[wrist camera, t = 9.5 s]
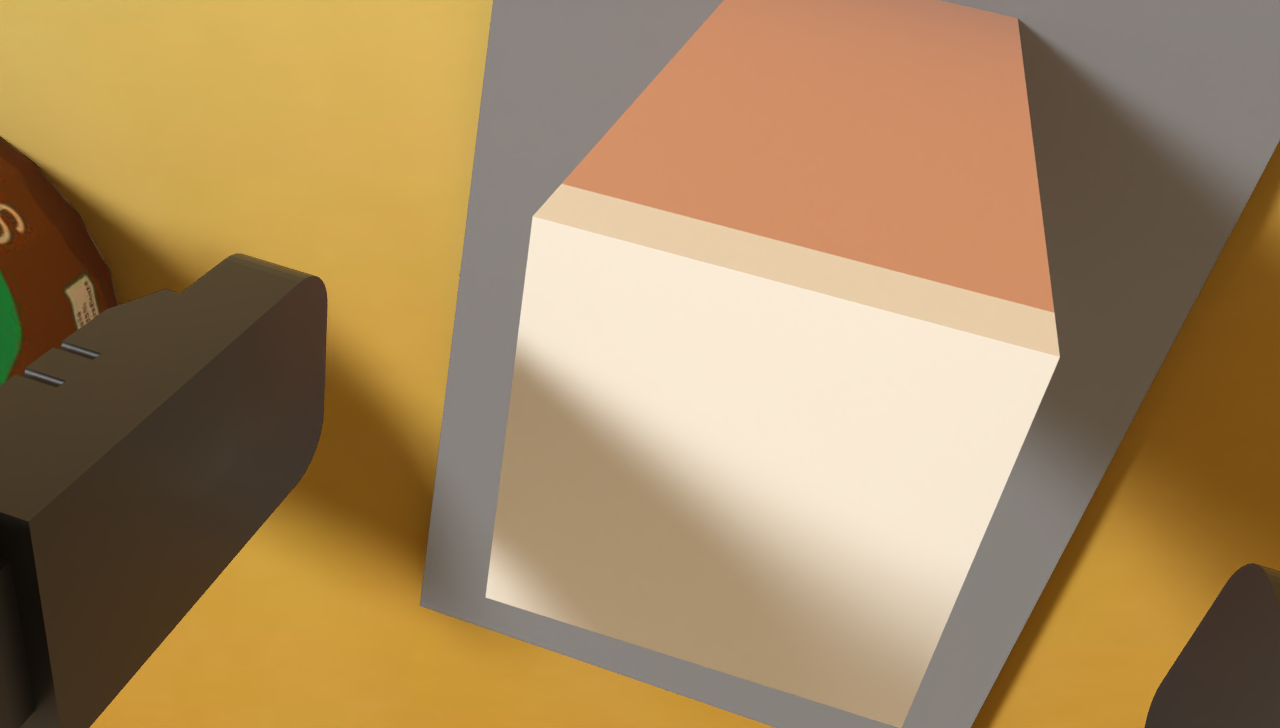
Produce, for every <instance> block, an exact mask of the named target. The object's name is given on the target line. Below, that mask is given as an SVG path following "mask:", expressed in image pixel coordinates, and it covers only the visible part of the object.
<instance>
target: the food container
mask: <svg viewBox="0 0 1280 728" xmlns="http://www.w3.org/2000/svg"><path fill="white" fill-rule="evenodd" d="M118 305H119V304H118V300H117V296H116V292H115V288H114V284H113V280H112V276H111V273H110V270H109V268H108V266H107V264H106V263H105V261H104V259H103V257H102V255H101V253H100V252H99V250H98V248H97V246H96V244H95V242H94V240H93V239H92V237H91V235H90V233H89V231H88V229H87V228H86V226H85V224H84V222H83V220H82V218H81V216H80V215H79V213H78V212H77V211H76V210H75V209H74V208H73V207H72V205H71V204H70V203H69V202H68V201H67V200H66V198H65V197H64V196H63V195H62V194H61V193H60V192H59V190H58V189H57V188H56V187H55V186H54V185H53V184H52V182H51V181H50V180H49V179H48V178H47V177H46V175H45V174H44V173H43V172H42V171H41V170H40V169H39V167H38V166H37V165H36V164H35V163H34V162H32V161H31V160H30V159H29V158H27V157H26V156H25V155H23V154H22V153H21V152H19V151H18V150H17V149H15V148H14V147H13V146H12V145H10V144H9V143H8V142H6V141H5V140H4V139H2V138H1V137H0V385H2V384H3V383H5V382H6V381H7V380H9V379H10V378H12V377H13V376H14V375H19V376H23V374H24V373H25V369H26V367H27V366H28V365H30V364H31V363H33V362H34V361H35V360H37V359H38V358H39V357H41V356H42V355H44V354H45V353H46V352H48V351H49V350H51V349H52V348H53V347H54V348H57V349H60V348H61V346H62V341H63V340H65V339H66V338H67V337H69V336H70V335H71V334H73V333H74V332H76V331H77V330H78V329H80V328H81V327H83V326H84V325H85V324H87V323H88V322H90V321H91V320H92V319H94V318H95V317H97V316H98V315H99V314H101V313H102V312H103V311H105V310H106V309H109V308H112V307H115V306H118Z"/></svg>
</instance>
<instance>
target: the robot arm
mask: <svg viewBox="0 0 1280 728" xmlns="http://www.w3.org/2000/svg"><path fill="white" fill-rule="evenodd" d="M326 331H327V292H326V288H325V285H324V283H323V281H322V280H321V279H320V278H319V277H317V276H314V275H310V274H307V273H304V272H300V271H297V270H294V269H290V268H287V267H284V266H281V265H277V264H274V263H271V262H267V261H264V260H261V259H257V258H254V257H251V256H248V255H244V254H234V255H231V256H229V257H228V258H226V259H225V260H223V261H222V262H221V263H219V264H218V265H217V266H215V267H214V268H213V269H211V270H210V271H209V272H208V273H206V274H205V275H204V276H202V277H201V278H200V279H198V280H197V281H196V282H194V283H193V284H192V285H191V286H189V287H188V288H187V289H185V290H184V291H183V292H181V293H177V292H174V291H171V290H167V289H164V290H161V291H158V292H155V293H152V294H149V295H146V296H144V297H141V298H138V299H135V300H132V301H129V302H126V303H123V304H121V305H118V306H115V307H112V308H109V309H106V310H105V311H103V312H102V313H101V314H99V315H98V316H97V317H95V318H94V319H92V320H91V321H90V322H88V323H87V324H85V325H84V326H83V327H81V328H80V329H78V330H77V331H76V332H74V333H73V334H71V335H70V336H69V337H67V338H66V339H65V340H63V341H62V346H61V348H60V349H57V348H54V347H53V348H52V349H51V350H49V351H48V352H46V353H45V354H44V355H42V356H41V357H39V358H38V359H37V360H35V361H34V362H33V363H31V364H30V365H28V366H27V367H26V369H25V373H24V374H23V376H19V375H14V376H13V377H12V378H10V379H9V380H7V381H6V382H5V383H3V384H2V385H0V728H89V727H90V726H91V725H92V724H93V723H94V722H95V720H96V719H97V718H98V717H99V716H100V714H101V713H102V712H103V711H104V710H105V709H106V707H107V706H108V705H109V704H110V703H111V702H112V700H113V699H114V698H115V697H116V696H117V695H118V693H119V692H120V691H121V690H122V689H123V687H124V686H125V685H126V684H127V683H128V682H129V680H130V679H131V678H132V677H133V676H134V675H135V673H136V672H137V671H138V670H139V669H140V668H141V666H142V665H143V664H144V663H145V662H146V661H147V659H148V658H149V657H150V656H151V655H152V653H153V652H154V651H155V650H156V649H157V648H158V646H159V645H160V644H161V643H162V642H163V641H164V639H165V638H166V637H167V636H168V635H169V634H170V632H171V631H172V630H173V629H174V628H175V627H176V625H177V624H178V623H179V622H180V621H181V619H182V618H183V617H184V616H185V615H186V614H187V612H188V611H189V610H190V609H191V608H192V607H193V605H194V604H195V603H196V602H197V601H198V600H199V598H200V597H201V596H202V595H203V594H204V592H205V591H206V590H207V589H208V588H209V587H210V585H211V584H212V583H213V582H214V581H215V580H216V578H217V577H218V576H219V575H220V574H221V573H222V571H223V570H224V569H225V568H226V567H227V566H228V564H229V563H230V562H231V561H232V560H233V558H234V557H235V556H236V555H237V554H238V553H239V551H240V550H241V549H242V548H243V547H244V546H245V544H246V543H247V542H248V541H249V540H250V539H251V537H252V536H253V535H254V534H255V533H256V531H257V530H258V529H259V528H260V527H261V526H262V524H263V523H264V522H265V521H266V520H267V519H268V517H269V516H270V515H271V514H272V513H273V512H274V510H275V509H276V508H277V507H278V506H279V505H280V503H281V502H282V501H283V500H284V499H285V497H286V496H287V495H288V494H289V493H290V492H291V490H292V489H293V488H294V487H295V486H296V485H297V483H298V482H299V481H300V479H301V478H302V476H303V475H304V473H305V471H306V470H307V468H308V466H309V464H310V462H311V460H312V457H313V455H314V453H315V450H316V447H317V444H318V441H319V438H320V434H321V429H322V423H323V414H324V386H325V358H326ZM1145 728H1280V571H1277V570H1274V569H1270V568H1267V567H1264V566H1261V565H1257V564H1247V565H1245V566H1243V567H1241V568H1240V569H1238V570H1237V571H1236V572H1235V573H1234V574H1233V575H1232V576H1231V578H1230V579H1229V580H1228V582H1227V583H1226V585H1225V586H1224V588H1223V589H1222V591H1221V592H1220V594H1219V595H1218V597H1217V598H1216V600H1215V601H1214V603H1213V604H1212V606H1211V607H1210V609H1209V611H1208V612H1207V614H1206V615H1205V617H1204V618H1203V620H1202V621H1201V623H1200V624H1199V626H1198V627H1197V629H1196V630H1195V632H1194V634H1193V635H1192V637H1191V638H1190V640H1189V641H1188V643H1187V644H1186V646H1185V647H1184V649H1183V650H1182V652H1181V653H1180V655H1179V656H1178V658H1177V660H1176V661H1175V663H1174V664H1173V666H1172V667H1171V669H1170V670H1169V672H1168V673H1167V675H1166V676H1165V678H1164V679H1163V681H1162V683H1161V684H1160V686H1159V688H1158V689H1157V691H1156V693H1155V696H1154V698H1153V700H1152V703H1151V706H1150V709H1149V712H1148V716H1147V720H1146V724H1145Z"/></svg>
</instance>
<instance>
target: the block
mask: <svg viewBox="0 0 1280 728" xmlns="http://www.w3.org/2000/svg"><path fill="white" fill-rule="evenodd" d="M1059 358H1060V353H1059V345H1058V337H1057V329H1056V321H1055V313H1054V305H1053V297H1052V289H1051V281H1050V273H1049V265H1048V257H1047V249H1046V241H1045V233H1044V225H1043V217H1042V209H1041V201H1040V193H1039V185H1038V177H1037V169H1036V161H1035V153H1034V145H1033V137H1032V129H1031V121H1030V113H1029V105H1028V97H1027V89H1026V81H1025V73H1024V65H1023V57H1022V49H1021V41H1020V33H1019V25H1018V18H1015V17H1011V16H1006V15H1002V14H997V13H993V12H989V11H984V10H980V9H976V8H971V7H967V6H962V5H958V4H954V3H949V2H945V1H941V0H724V1H723V2H722V3H721V4H720V5H719V6H718V7H717V8H716V10H715V11H714V12H713V13H712V14H711V15H710V16H709V17H708V19H707V20H706V21H705V22H704V23H703V24H702V25H701V27H700V28H699V29H698V30H697V31H696V32H695V33H694V34H693V36H692V37H691V38H690V39H689V40H688V41H687V42H686V44H685V45H684V46H683V47H682V48H681V49H680V50H679V51H678V53H677V54H676V55H675V56H674V57H673V58H672V59H671V60H670V62H669V63H668V64H667V65H666V66H665V67H664V68H663V70H662V71H661V72H660V73H659V74H658V75H657V76H656V77H655V79H654V80H653V81H652V82H651V83H650V84H649V85H648V86H647V88H646V89H645V90H644V91H643V92H642V93H641V94H640V96H639V97H638V98H637V99H636V100H635V101H634V102H633V103H632V105H631V106H630V107H629V108H628V109H627V110H626V111H625V112H624V114H623V115H622V116H621V117H620V118H619V119H618V120H617V122H616V123H615V124H614V125H613V126H612V127H611V128H610V129H609V131H608V132H607V133H606V134H605V135H604V136H603V137H602V138H601V140H600V141H599V142H598V143H597V144H596V145H595V146H594V148H593V149H592V150H591V151H590V152H589V153H588V154H587V155H586V157H585V158H584V159H583V160H582V161H581V162H580V163H579V165H578V166H577V167H576V168H575V169H574V170H573V171H572V172H571V174H570V175H569V176H568V177H567V178H566V179H565V180H564V181H563V183H562V184H561V185H560V186H559V187H558V188H557V189H556V191H555V192H554V193H553V194H552V195H551V196H550V197H549V198H548V200H547V201H546V202H545V203H544V204H543V205H542V206H541V207H540V209H539V210H538V211H537V212H536V213H535V214H534V215H533V217H532V225H531V234H530V242H529V250H528V258H527V266H526V274H525V282H524V290H523V298H522V306H521V314H520V322H519V330H518V338H517V347H516V355H515V363H514V371H513V379H512V387H511V395H510V403H509V411H508V419H507V427H506V435H505V443H504V452H503V460H502V468H501V476H500V484H499V492H498V500H497V508H496V516H495V524H494V532H493V540H492V548H491V557H490V565H489V573H488V581H487V589H486V597H485V598H489V599H492V600H495V601H498V602H501V603H504V604H508V605H511V606H514V607H517V608H520V609H523V610H527V611H530V612H533V613H536V614H539V615H542V616H546V617H549V618H552V619H555V620H558V621H561V622H565V623H568V624H571V625H574V626H577V627H580V628H584V629H587V630H590V631H593V632H596V633H600V634H603V635H606V636H609V637H612V638H615V639H619V640H622V641H625V642H628V643H631V644H634V645H638V646H641V647H644V648H647V649H650V650H653V651H657V652H660V653H663V654H666V655H669V656H672V657H676V658H679V659H682V660H685V661H688V662H692V663H695V664H698V665H701V666H704V667H707V668H711V669H714V670H717V671H720V672H723V673H726V674H730V675H733V676H736V677H739V678H742V679H745V680H749V681H752V682H755V683H758V684H761V685H764V686H768V687H771V688H774V689H777V690H780V691H783V692H787V693H790V694H793V695H796V696H799V697H803V698H806V699H809V700H812V701H815V702H818V703H822V704H825V705H828V706H831V707H834V708H837V709H841V710H844V711H847V712H850V713H853V714H856V715H860V716H863V717H866V718H869V719H872V720H875V721H879V722H882V723H885V724H888V725H891V726H894V727H898V728H902V726H903V723H904V721H905V719H906V716H907V714H908V712H909V709H910V707H911V705H912V702H913V700H914V698H915V695H916V693H917V691H918V688H919V686H920V684H921V681H922V679H923V677H924V674H925V672H926V670H927V667H928V665H929V663H930V660H931V658H932V656H933V653H934V651H935V649H936V646H937V644H938V642H939V639H940V637H941V634H942V632H943V630H944V627H945V625H946V623H947V620H948V618H949V616H950V613H951V611H952V609H953V606H954V604H955V602H956V599H957V597H958V595H959V592H960V590H961V588H962V585H963V583H964V581H965V578H966V576H967V574H968V571H969V569H970V567H971V564H972V562H973V560H974V557H975V555H976V553H977V550H978V548H979V545H980V543H981V541H982V538H983V536H984V534H985V531H986V529H987V527H988V524H989V522H990V520H991V517H992V515H993V513H994V510H995V508H996V506H997V503H998V501H999V499H1000V496H1001V494H1002V492H1003V489H1004V487H1005V485H1006V482H1007V480H1008V478H1009V475H1010V473H1011V471H1012V468H1013V466H1014V464H1015V461H1016V459H1017V456H1018V454H1019V452H1020V449H1021V447H1022V445H1023V442H1024V440H1025V438H1026V435H1027V433H1028V431H1029V428H1030V426H1031V424H1032V421H1033V419H1034V417H1035V414H1036V412H1037V410H1038V407H1039V405H1040V403H1041V400H1042V398H1043V396H1044V393H1045V391H1046V389H1047V386H1048V384H1049V382H1050V379H1051V377H1052V375H1053V372H1054V370H1055V367H1056V365H1057V363H1058V360H1059Z"/></svg>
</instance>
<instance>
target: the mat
mask: <svg viewBox="0 0 1280 728" xmlns="http://www.w3.org/2000/svg"><path fill="white" fill-rule="evenodd" d="M723 1H724V0H493V6H492V15H491V23H490V31H489V39H488V48H487V56H486V64H485V72H484V81H483V89H482V97H481V105H480V114H479V122H478V130H477V138H476V147H475V155H474V163H473V171H472V180H471V188H470V196H469V204H468V213H467V221H466V229H465V237H464V246H463V254H462V262H461V270H460V279H459V287H458V295H457V303H456V312H455V320H454V328H453V336H452V345H451V353H450V361H449V369H448V378H447V386H446V394H445V402H444V411H443V419H442V427H441V435H440V444H439V452H438V460H437V468H436V477H435V485H434V493H433V501H432V510H431V518H430V526H429V534H428V543H427V551H426V559H425V567H424V576H423V584H422V592H421V600H420V606H422V607H425V608H428V609H431V610H434V611H437V612H440V613H443V614H445V615H448V616H451V617H454V618H457V619H460V620H463V621H466V622H469V623H472V624H475V625H478V626H481V627H483V628H486V629H489V630H492V631H495V632H498V633H501V634H504V635H507V636H510V637H513V638H516V639H519V640H521V641H524V642H527V643H530V644H533V645H536V646H539V647H542V648H545V649H548V650H551V651H554V652H557V653H559V654H562V655H565V656H568V657H571V658H574V659H577V660H580V661H583V662H586V663H589V664H592V665H595V666H597V667H600V668H603V669H606V670H609V671H612V672H615V673H618V674H621V675H624V676H627V677H630V678H633V679H635V680H638V681H641V682H644V683H647V684H650V685H653V686H656V687H659V688H662V689H665V690H668V691H671V692H673V693H676V694H679V695H682V696H685V697H688V698H691V699H694V700H697V701H700V702H703V703H706V704H709V705H711V706H714V707H717V708H720V709H723V710H726V711H729V712H732V713H735V714H738V715H741V716H744V717H746V718H749V719H752V720H755V721H758V722H761V723H764V724H767V725H770V726H773V727H776V728H898V727H894V726H891V725H888V724H885V723H882V722H879V721H875V720H872V719H869V718H866V717H863V716H860V715H856V714H853V713H850V712H847V711H844V710H841V709H837V708H834V707H831V706H828V705H825V704H822V703H818V702H815V701H812V700H809V699H806V698H803V697H799V696H796V695H793V694H790V693H787V692H783V691H780V690H777V689H774V688H771V687H768V686H764V685H761V684H758V683H755V682H752V681H749V680H745V679H742V678H739V677H736V676H733V675H730V674H726V673H723V672H720V671H717V670H714V669H711V668H707V667H704V666H701V665H698V664H695V663H692V662H688V661H685V660H682V659H679V658H676V657H672V656H669V655H666V654H663V653H660V652H657V651H653V650H650V649H647V648H644V647H641V646H638V645H634V644H631V643H628V642H625V641H622V640H619V639H615V638H612V637H609V636H606V635H603V634H600V633H596V632H593V631H590V630H587V629H584V628H580V627H577V626H574V625H571V624H568V623H565V622H561V621H558V620H555V619H552V618H549V617H546V616H542V615H539V614H536V613H533V612H530V611H527V610H523V609H520V608H517V607H514V606H511V605H508V604H504V603H501V602H498V601H495V600H492V599H489V598H485V597H486V589H487V581H488V573H489V565H490V557H491V548H492V540H493V532H494V524H495V516H496V508H497V500H498V492H499V484H500V476H501V468H502V460H503V452H504V443H505V435H506V427H507V419H508V411H509V403H510V395H511V387H512V379H513V371H514V363H515V355H516V347H517V338H518V330H519V322H520V314H521V306H522V298H523V290H524V282H525V274H526V266H527V258H528V250H529V242H530V234H531V225H532V217H533V215H534V214H535V213H536V212H537V211H538V210H539V209H540V207H541V206H542V205H543V204H544V203H545V202H546V201H547V200H548V198H549V197H550V196H551V195H552V194H553V193H554V192H555V191H556V189H557V188H558V187H559V186H560V185H561V184H562V183H563V181H564V180H565V179H566V178H567V177H568V176H569V175H570V174H571V172H572V171H573V170H574V169H575V168H576V167H577V166H578V165H579V163H580V162H581V161H582V160H583V159H584V158H585V157H586V155H587V154H588V153H589V152H590V151H591V150H592V149H593V148H594V146H595V145H596V144H597V143H598V142H599V141H600V140H601V138H602V137H603V136H604V135H605V134H606V133H607V132H608V131H609V129H610V128H611V127H612V126H613V125H614V124H615V123H616V122H617V120H618V119H619V118H620V117H621V116H622V115H623V114H624V112H625V111H626V110H627V109H628V108H629V107H630V106H631V105H632V103H633V102H634V101H635V100H636V99H637V98H638V97H639V96H640V94H641V93H642V92H643V91H644V90H645V89H646V88H647V86H648V85H649V84H650V83H651V82H652V81H653V80H654V79H655V77H656V76H657V75H658V74H659V73H660V72H661V71H662V70H663V68H664V67H665V66H666V65H667V64H668V63H669V62H670V60H671V59H672V58H673V57H674V56H675V55H676V54H677V53H678V51H679V50H680V49H681V48H682V47H683V46H684V45H685V44H686V42H687V41H688V40H689V39H690V38H691V37H692V36H693V34H694V33H695V32H696V31H697V30H698V29H699V28H700V27H701V25H702V24H703V23H704V22H705V21H706V20H707V19H708V17H709V16H710V15H711V14H712V13H713V12H714V11H715V10H716V8H717V7H718V6H719V5H720V4H721V3H722V2H723ZM941 1H945V2H949V3H954V4H958V5H962V6H967V7H971V8H976V9H980V10H984V11H989V12H993V13H997V14H1002V15H1006V16H1011V17H1015V18H1018V25H1019V33H1020V41H1021V49H1022V57H1023V65H1024V73H1025V81H1026V89H1027V97H1028V105H1029V113H1030V121H1031V129H1032V137H1033V145H1034V153H1035V161H1036V169H1037V177H1038V185H1039V193H1040V201H1041V209H1042V217H1043V225H1044V233H1045V241H1046V249H1047V257H1048V265H1049V273H1050V281H1051V289H1052V297H1053V305H1054V313H1055V321H1056V329H1057V337H1058V345H1059V353H1060V358H1059V360H1058V363H1057V365H1056V367H1055V370H1054V372H1053V375H1052V377H1051V379H1050V382H1049V384H1048V386H1047V389H1046V391H1045V393H1044V396H1043V398H1042V400H1041V403H1040V405H1039V407H1038V410H1037V412H1036V414H1035V417H1034V419H1033V421H1032V424H1031V426H1030V428H1029V431H1028V433H1027V435H1026V438H1025V440H1024V442H1023V445H1022V447H1021V449H1020V452H1019V454H1018V456H1017V459H1016V461H1015V464H1014V466H1013V468H1012V471H1011V473H1010V475H1009V478H1008V480H1007V482H1006V485H1005V487H1004V489H1003V492H1002V494H1001V496H1000V499H999V501H998V503H997V506H996V508H995V510H994V513H993V515H992V517H991V520H990V522H989V524H988V527H987V529H986V531H985V534H984V536H983V538H982V541H981V543H980V545H979V548H978V550H977V553H976V555H975V557H974V560H973V562H972V564H971V567H970V569H969V571H968V574H967V576H966V578H965V581H964V583H963V585H962V588H961V590H960V592H959V595H958V597H957V599H956V602H955V604H954V606H953V609H952V611H951V613H950V616H949V618H948V620H947V623H946V625H945V627H944V630H943V632H942V634H941V637H940V639H939V642H938V644H937V646H936V649H935V651H934V653H933V656H932V658H931V660H930V663H929V665H928V667H927V670H926V672H925V674H924V677H923V679H922V681H921V684H920V686H919V688H918V691H917V693H916V695H915V698H914V700H913V702H912V705H911V707H910V709H909V712H908V714H907V716H906V719H905V721H904V723H903V726H902V728H971V726H972V724H973V722H974V720H975V718H976V717H977V715H978V713H979V711H980V709H981V707H982V705H983V703H984V701H985V699H986V698H987V696H988V694H989V692H990V690H991V688H992V686H993V684H994V682H995V680H996V679H997V677H998V675H999V673H1000V671H1001V669H1002V667H1003V665H1004V663H1005V661H1006V660H1007V658H1008V656H1009V654H1010V652H1011V650H1012V648H1013V646H1014V644H1015V642H1016V641H1017V639H1018V637H1019V635H1020V633H1021V631H1022V629H1023V627H1024V625H1025V623H1026V622H1027V620H1028V618H1029V616H1030V614H1031V612H1032V610H1033V608H1034V606H1035V604H1036V603H1037V601H1038V599H1039V597H1040V595H1041V593H1042V591H1043V589H1044V587H1045V585H1046V583H1047V582H1048V580H1049V578H1050V576H1051V574H1052V572H1053V570H1054V568H1055V566H1056V564H1057V563H1058V561H1059V559H1060V557H1061V555H1062V553H1063V551H1064V549H1065V547H1066V545H1067V544H1068V542H1069V540H1070V538H1071V536H1072V534H1073V532H1074V530H1075V528H1076V526H1077V525H1078V523H1079V521H1080V519H1081V517H1082V515H1083V513H1084V511H1085V509H1086V507H1087V506H1088V504H1089V502H1090V500H1091V498H1092V496H1093V494H1094V492H1095V490H1096V488H1097V487H1098V485H1099V483H1100V481H1101V479H1102V477H1103V475H1104V473H1105V471H1106V469H1107V468H1108V466H1109V464H1110V462H1111V460H1112V458H1113V456H1114V454H1115V452H1116V450H1117V449H1118V447H1119V445H1120V443H1121V441H1122V439H1123V437H1124V435H1125V433H1126V431H1127V430H1128V428H1129V426H1130V424H1131V422H1132V420H1133V418H1134V416H1135V414H1136V412H1137V411H1138V409H1139V407H1140V405H1141V403H1142V401H1143V399H1144V397H1145V395H1146V393H1147V392H1148V390H1149V388H1150V386H1151V384H1152V382H1153V380H1154V378H1155V376H1156V374H1157V373H1158V371H1159V369H1160V367H1161V365H1162V363H1163V361H1164V359H1165V357H1166V355H1167V354H1168V352H1169V350H1170V348H1171V346H1172V344H1173V342H1174V340H1175V338H1176V336H1177V335H1178V333H1179V331H1180V329H1181V327H1182V325H1183V323H1184V321H1185V319H1186V317H1187V315H1188V314H1189V312H1190V310H1191V308H1192V306H1193V304H1194V302H1195V300H1196V298H1197V296H1198V295H1199V293H1200V291H1201V289H1202V287H1203V285H1204V283H1205V281H1206V279H1207V277H1208V276H1209V274H1210V272H1211V270H1212V268H1213V266H1214V264H1215V262H1216V260H1217V258H1218V257H1219V255H1220V253H1221V251H1222V249H1223V247H1224V245H1225V243H1226V241H1227V239H1228V238H1229V236H1230V234H1231V232H1232V230H1233V228H1234V226H1235V224H1236V222H1237V220H1238V219H1239V217H1240V215H1241V213H1242V211H1243V209H1244V207H1245V205H1246V203H1247V201H1248V200H1249V198H1250V196H1251V194H1252V192H1253V190H1254V188H1255V186H1256V184H1257V182H1258V181H1259V179H1260V177H1261V175H1262V173H1263V171H1264V169H1265V167H1266V165H1267V163H1268V162H1269V160H1270V158H1271V156H1272V154H1273V152H1274V150H1275V148H1276V146H1277V144H1278V143H1279V141H1280V0H941Z"/></svg>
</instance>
